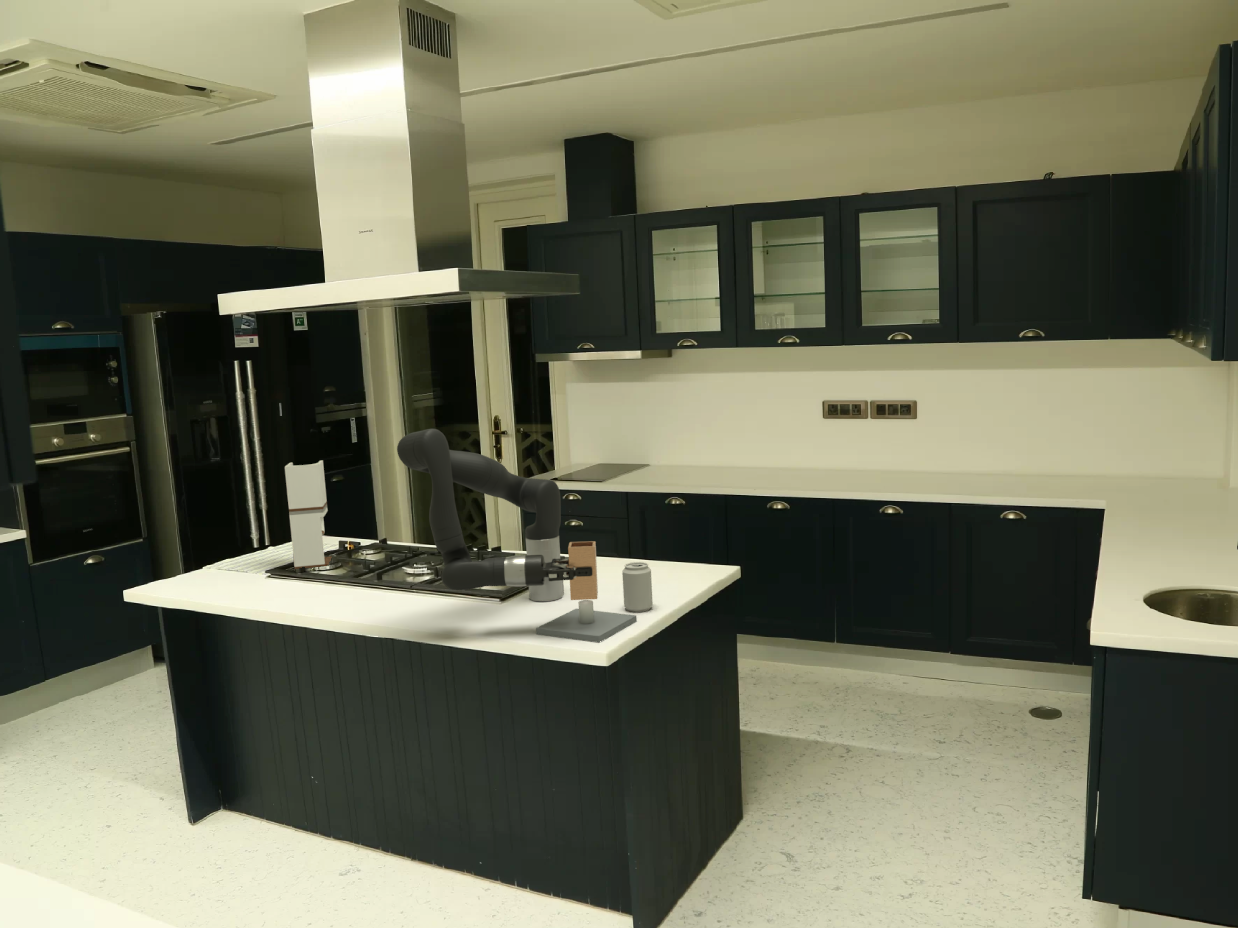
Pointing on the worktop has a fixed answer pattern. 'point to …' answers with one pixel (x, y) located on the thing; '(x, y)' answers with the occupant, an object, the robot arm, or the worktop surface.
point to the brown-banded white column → (307, 513)
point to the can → (637, 587)
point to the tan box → (583, 557)
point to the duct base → (586, 623)
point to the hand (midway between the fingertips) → (592, 567)
